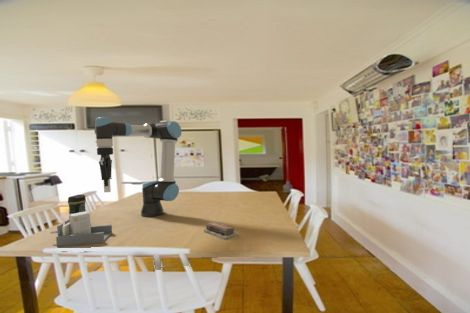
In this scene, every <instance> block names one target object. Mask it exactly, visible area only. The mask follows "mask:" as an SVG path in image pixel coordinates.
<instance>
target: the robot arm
mask: <svg viewBox="0 0 470 313" xmlns="http://www.w3.org/2000/svg"><path fill="white" fill-rule="evenodd" d="M94 125H95V127H94V134H95V139H96V141H95V143H96V147H97V148H96V154H97V156H100V159H99V161H98V164H99V169H100V176H101V181H103V192H104V193H111V180H112V179H113V178H112V164H113V159H111V155H114V148H113V147H114V143H113V142H114V140H113V138H115V137H116V138H117V137H118V138H120V137H121V138H123V137H124V138H125V137H144V138H147V139H157V140H160V142H161V157H160V158H161V160H160V162H161V164H160V178H159V179H158V180H153V181H145V182H143V183H142V203H143V204H142V207H141V210H140V216H141V217H146V218H150V217H157V216H160V215H163V214H164V208H163V206H162V203H161V201H165V202H172V201H174V200H176V198H177V197H178V195H179V192H180V187H179V186H178V184H177V183H176V179H174V178H175V177H174V176H175V171H174V170H175V157H176V155H175V152H176V151H175V150H176V144H177V142H178V140H179V139H180V137H181V136H182V128H181V125H180V124H179V123H178V122H177V121H175V120H174V121H172V120H169V121H157V122H154V123H153V122H152V123H145V124H130V123H128V122H119V121H117V122H115V121H112V118H111V117H107V116H99V117H96V118H95V123H94Z"/></svg>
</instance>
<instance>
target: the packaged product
mask: <svg viewBox="0 0 470 313" xmlns="http://www.w3.org/2000/svg"><path fill="white" fill-rule="evenodd" d="M205 226H206V227H205V228H204V229H203V232H204V233H206V234H208V235H211V236H213V237H216V238H218V239H220V240H221V239H222V240H228V239H230V238H231V239H232V238H233V237H236V236H239V232H237V231H235V228H234V227H231V226H229V225H226V224H223V223H220V222H217V221H211V222H208V223H207V224H206V225H205Z"/></svg>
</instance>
